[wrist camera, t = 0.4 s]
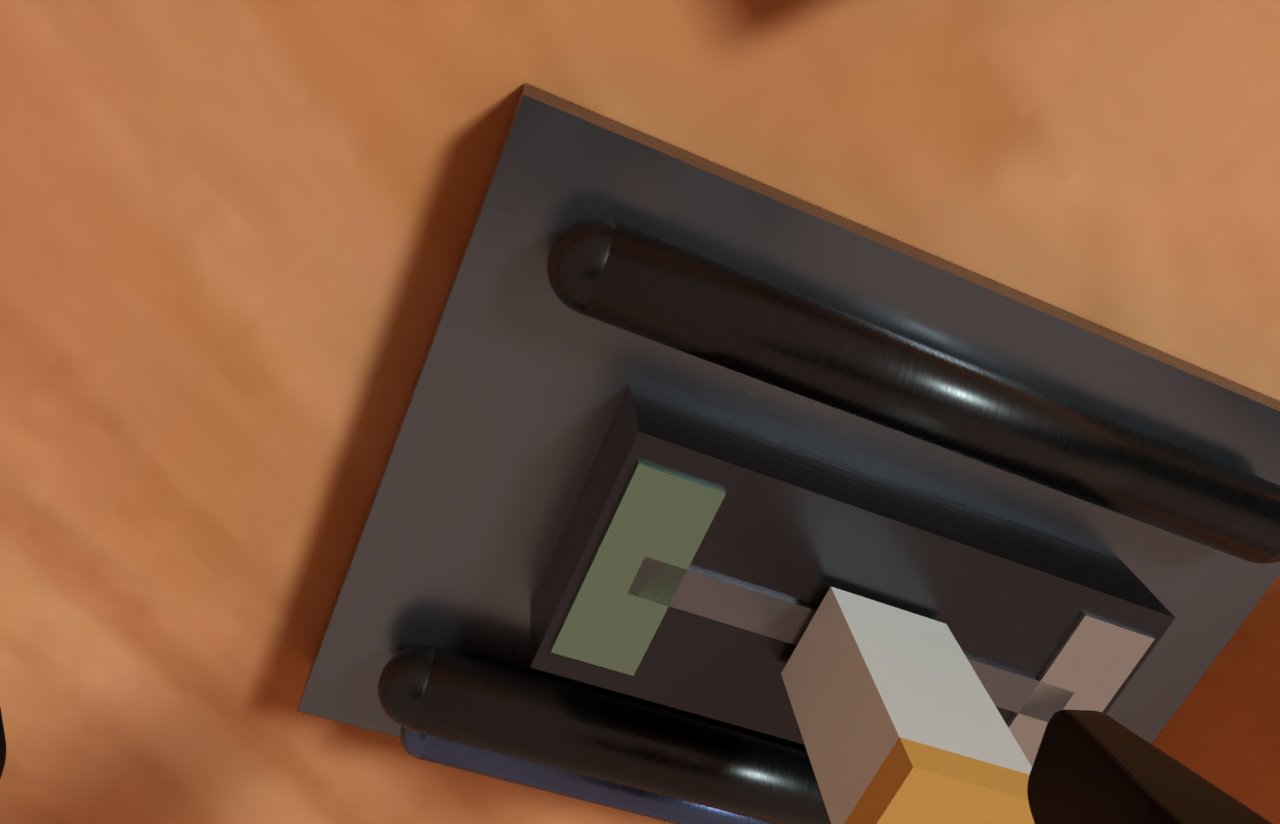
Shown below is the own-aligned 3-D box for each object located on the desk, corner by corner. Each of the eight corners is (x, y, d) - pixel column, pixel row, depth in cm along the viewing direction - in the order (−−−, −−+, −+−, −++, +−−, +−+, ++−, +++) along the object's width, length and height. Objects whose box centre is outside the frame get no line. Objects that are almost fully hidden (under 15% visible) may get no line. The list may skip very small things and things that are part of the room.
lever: (950, 622, 19) (1062, 810, 15) (894, 709, 20) (989, 911, 16) (829, 583, 18) (913, 767, 14) (777, 674, 19) (842, 874, 15)
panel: (1322, 418, 22) (1456, 501, 19) (1008, 851, 27) (1074, 977, 24) (524, 82, 18) (522, 115, 15) (311, 664, 23) (273, 787, 19)
